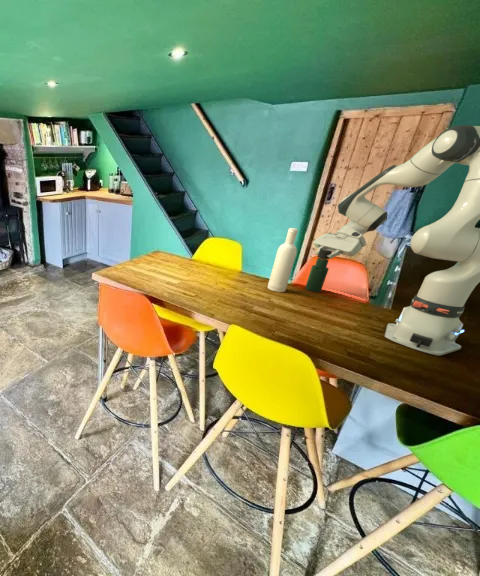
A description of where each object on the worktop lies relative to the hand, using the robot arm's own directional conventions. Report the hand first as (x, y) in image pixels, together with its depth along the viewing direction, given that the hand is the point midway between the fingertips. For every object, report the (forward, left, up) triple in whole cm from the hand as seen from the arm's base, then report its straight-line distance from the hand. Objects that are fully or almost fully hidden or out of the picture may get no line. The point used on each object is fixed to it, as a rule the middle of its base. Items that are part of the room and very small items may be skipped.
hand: (323, 256), depth 145 cm
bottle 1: (-18, +9, -18) cm, 26 cm away
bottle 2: (0, 0, -18) cm, 18 cm away
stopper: (+1, 0, -6) cm, 6 cm away
